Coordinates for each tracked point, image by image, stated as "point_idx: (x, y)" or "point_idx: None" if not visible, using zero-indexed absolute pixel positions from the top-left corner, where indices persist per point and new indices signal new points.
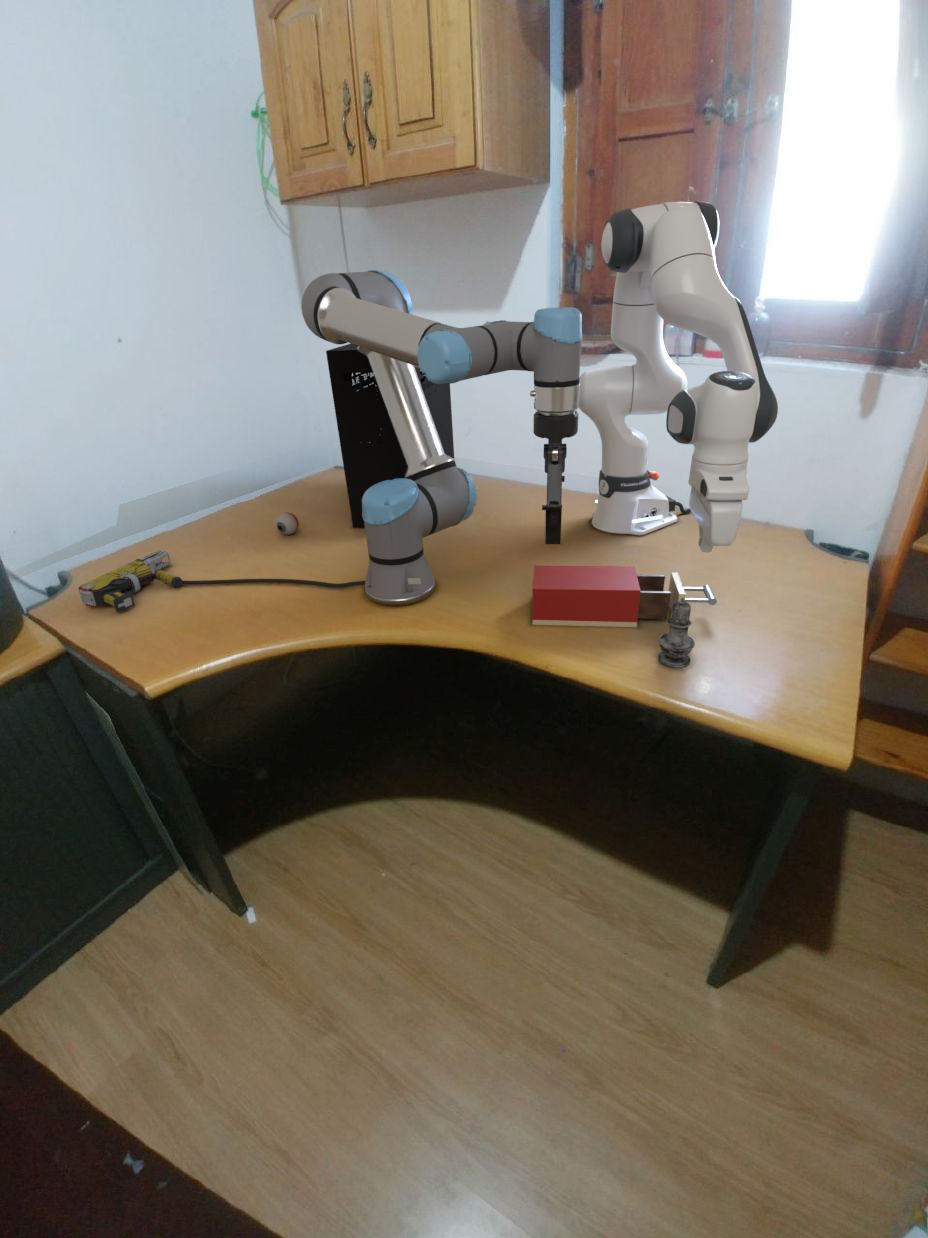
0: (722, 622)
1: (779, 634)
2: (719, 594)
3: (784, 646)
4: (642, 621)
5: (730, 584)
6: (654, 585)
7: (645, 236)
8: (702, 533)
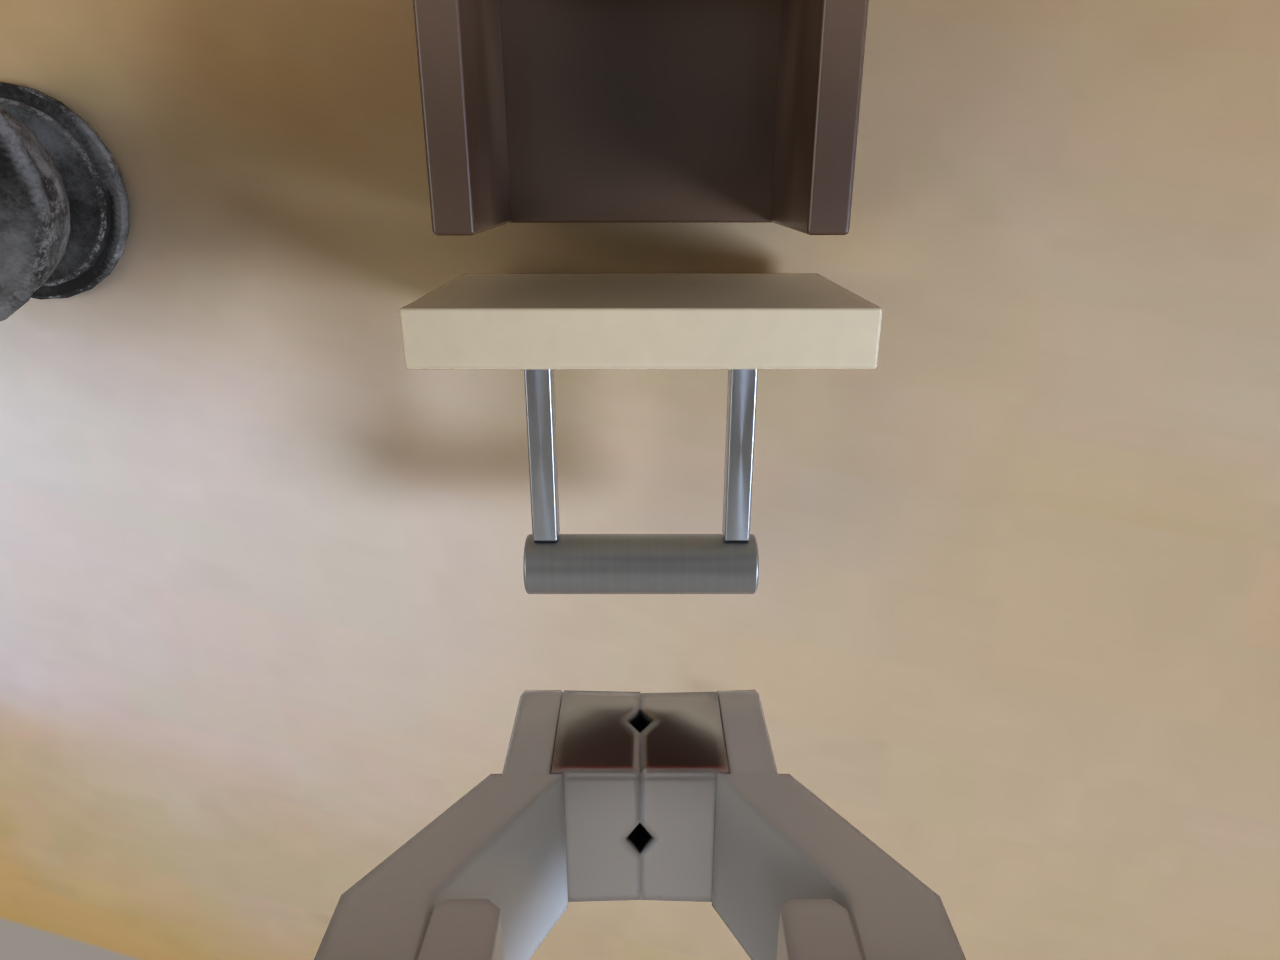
0: None
1: None
2: (919, 627)
3: (335, 797)
4: None
5: (1047, 713)
6: (794, 135)
7: None
8: (771, 858)
